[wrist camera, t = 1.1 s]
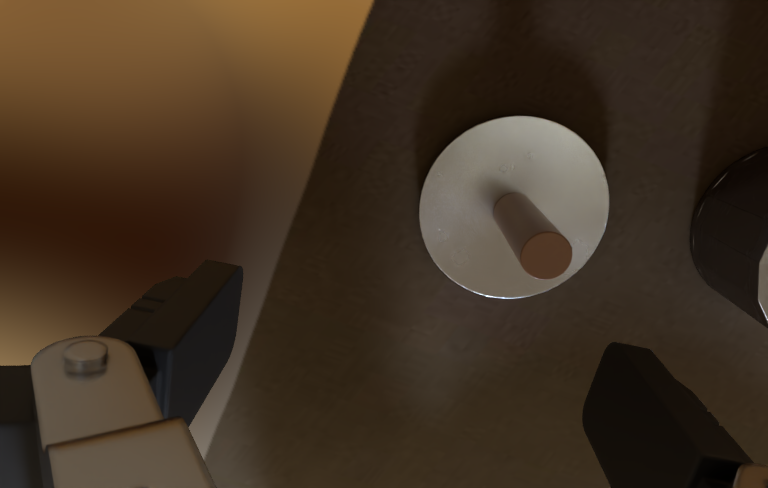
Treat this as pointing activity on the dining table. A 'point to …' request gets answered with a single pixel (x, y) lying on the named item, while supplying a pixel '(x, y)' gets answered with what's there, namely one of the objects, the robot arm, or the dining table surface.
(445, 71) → the dining table surface
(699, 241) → the bowl
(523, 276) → the bowl lid
